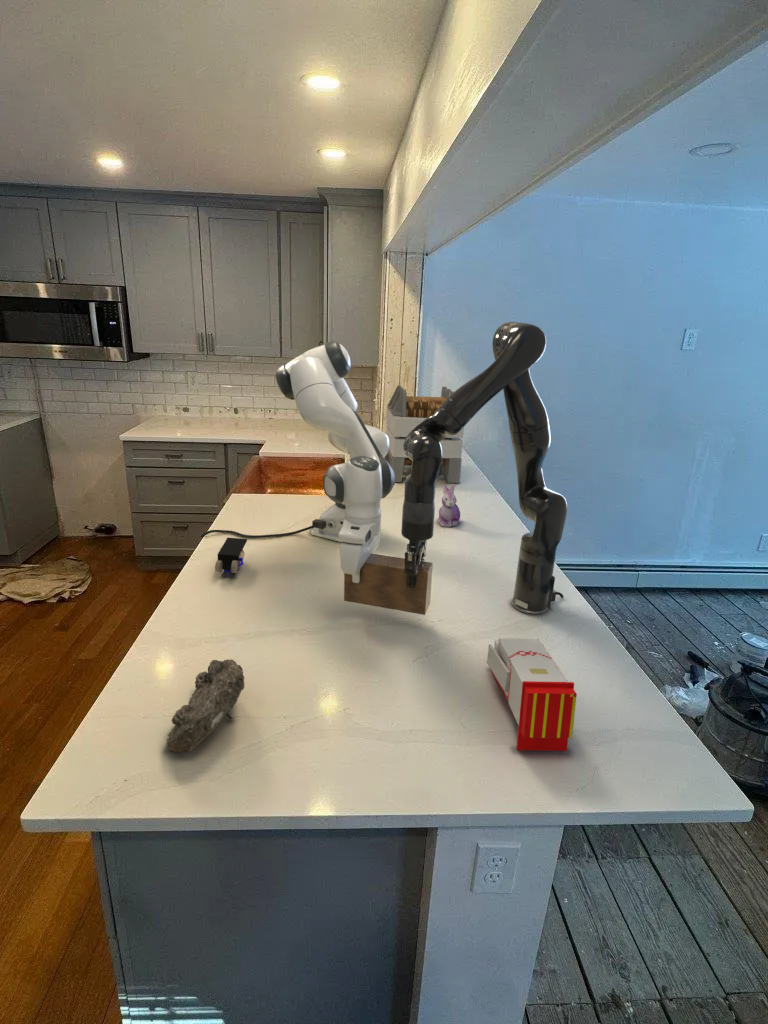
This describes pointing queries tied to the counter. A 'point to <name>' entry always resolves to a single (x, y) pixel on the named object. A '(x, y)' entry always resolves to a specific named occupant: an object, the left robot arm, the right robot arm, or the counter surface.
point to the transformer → (405, 418)
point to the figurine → (449, 508)
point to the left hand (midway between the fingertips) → (361, 575)
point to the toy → (534, 693)
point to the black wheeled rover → (230, 556)
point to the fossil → (206, 705)
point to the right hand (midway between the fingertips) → (414, 581)
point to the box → (390, 585)
